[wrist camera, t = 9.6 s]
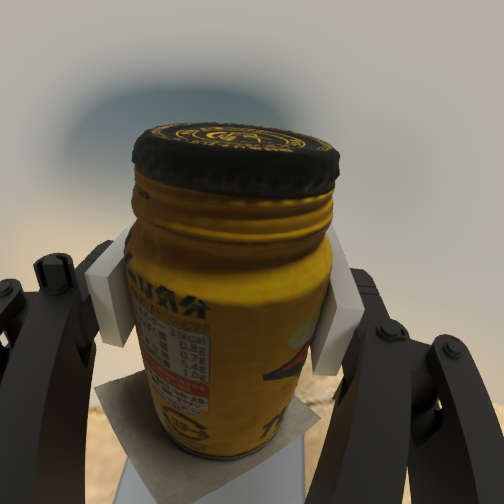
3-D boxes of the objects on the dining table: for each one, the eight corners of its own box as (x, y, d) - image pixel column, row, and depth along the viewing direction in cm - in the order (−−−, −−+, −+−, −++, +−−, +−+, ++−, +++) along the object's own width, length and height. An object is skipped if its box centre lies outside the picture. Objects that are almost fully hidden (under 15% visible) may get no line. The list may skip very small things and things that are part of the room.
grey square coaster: (297, 431, 25) (304, 416, 23) (296, 556, 13) (306, 555, 12) (151, 411, 25) (145, 395, 23) (116, 529, 13) (104, 523, 12)
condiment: (319, 419, 13) (418, 162, 7) (166, 516, 8) (5, 211, 2) (230, 336, 17) (248, 118, 12) (95, 391, 12) (29, 136, 7)
